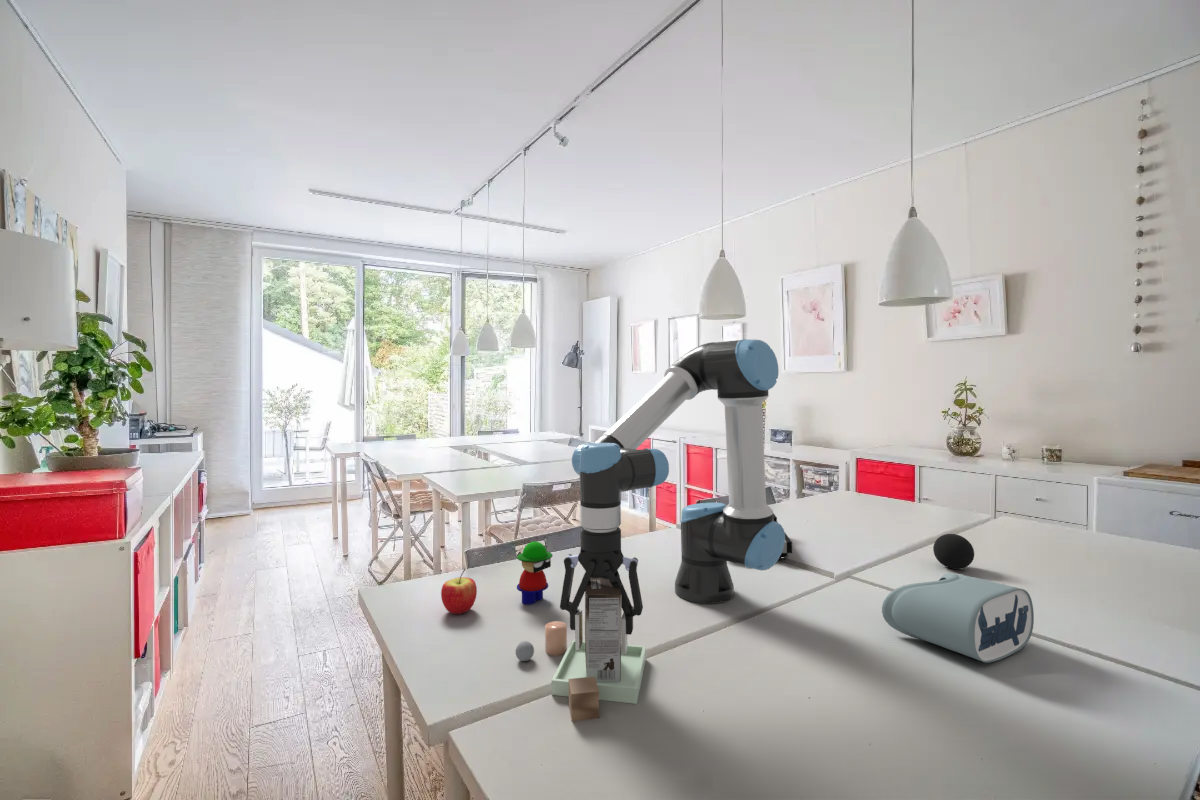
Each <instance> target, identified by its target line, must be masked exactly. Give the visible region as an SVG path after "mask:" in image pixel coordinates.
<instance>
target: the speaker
mask: <svg viewBox="0 0 1200 800" xmlns="http://www.w3.org/2000/svg"><path fill="white" fill-rule="evenodd" d="M932 549H933V555H934V556H935V559H936V560H937V562H938V563H940V564H941V565H942V566H944V567H945V568H948V569H953V570H961V569H965V568H967V567H969V566H970V565H971V564H972V563H973V560H974V558H975V550H974V547H973V545H972V544H971V542H970V541H969V540H968V539H967V538H965V537H963V536H962V535H959V534H956V533H946V534H942V535H941V536H939V537H937V539H936V540H935V541H934V543H933V548H932Z"/></svg>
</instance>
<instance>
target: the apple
mask: <svg viewBox="0 0 1200 800" xmlns="http://www.w3.org/2000/svg"><path fill="white" fill-rule="evenodd" d="M465 571H466V568H464V569H463V570H462V573H461V574H460V577H455V578H452V579H451V578H450V579H449V580H447V581H445V582H444V583H443V584H442V587H441V592H440V596H441V597H440V598H441V603H442V605H443V607H444V608H445V610H447V612H449V613H450V614H454V615H460V614H464V613H467V612H468V611H470V609H471V608H473V606H474V604H475V602H476V599H477V593H478V590H477V584H476V581H475V580H474V578H471V577H465V576H463V574H464V572H465Z"/></svg>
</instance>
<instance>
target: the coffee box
mask: <svg viewBox="0 0 1200 800" xmlns="http://www.w3.org/2000/svg"><path fill="white" fill-rule="evenodd" d="M622 612H623V609H622V594H621V590H620V589H619V588H613V586H612V584H611V583H610V581H609V579H603V578H592V577H591V579H590V581H589V583H588V584H587V586H586V589H585V593H584V641H585V658H586V677H595V679H596V682H620V681H621V618H622Z"/></svg>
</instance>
